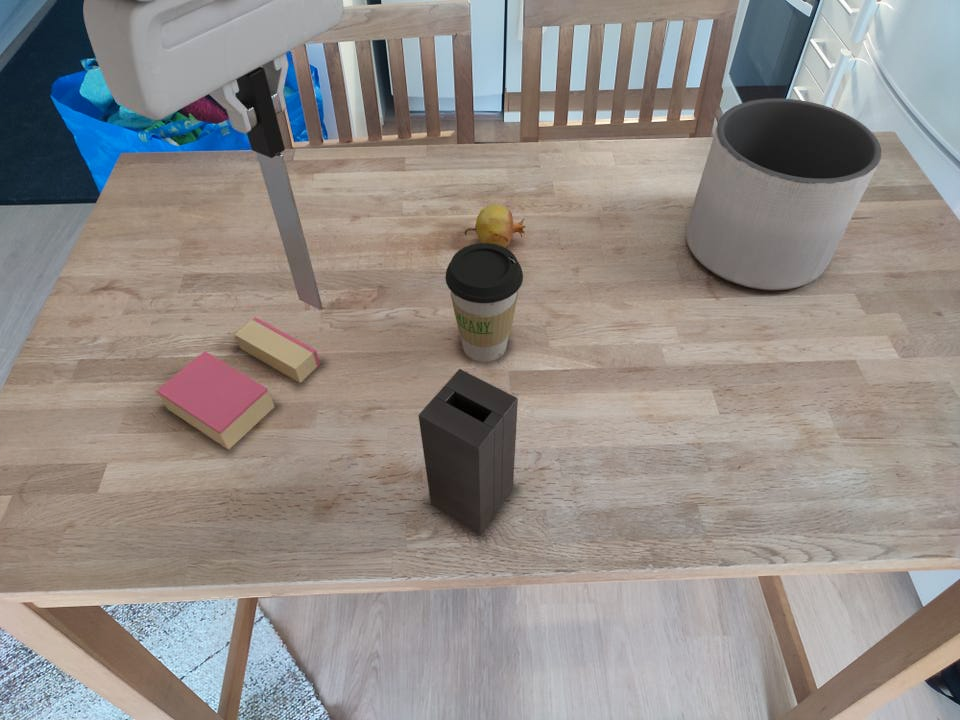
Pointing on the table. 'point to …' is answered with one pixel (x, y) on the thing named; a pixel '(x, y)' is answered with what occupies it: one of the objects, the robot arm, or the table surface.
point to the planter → (779, 191)
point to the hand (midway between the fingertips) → (260, 120)
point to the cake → (216, 399)
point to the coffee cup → (484, 297)
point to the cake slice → (277, 349)
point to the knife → (278, 182)
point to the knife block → (469, 449)
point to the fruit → (496, 225)
